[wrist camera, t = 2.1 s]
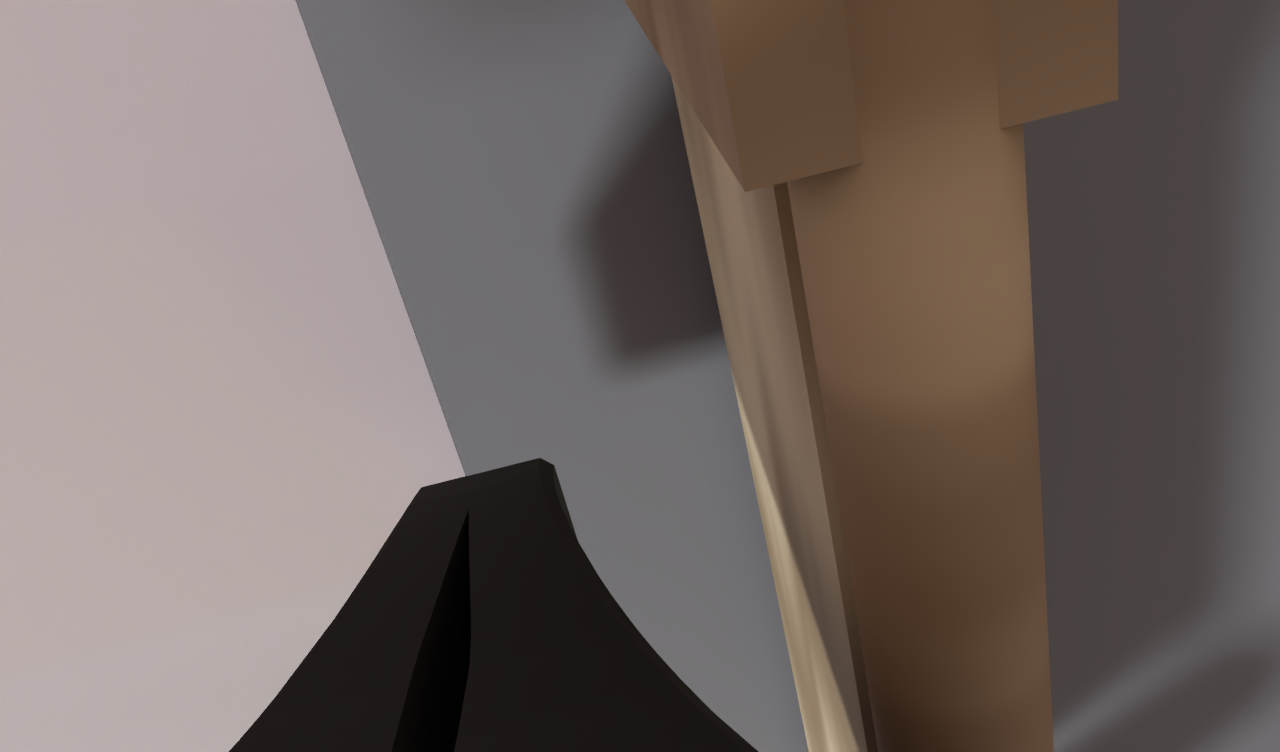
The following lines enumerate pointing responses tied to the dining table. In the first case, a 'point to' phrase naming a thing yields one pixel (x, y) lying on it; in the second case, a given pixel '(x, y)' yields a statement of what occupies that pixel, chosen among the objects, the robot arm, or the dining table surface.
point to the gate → (888, 336)
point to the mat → (701, 374)
